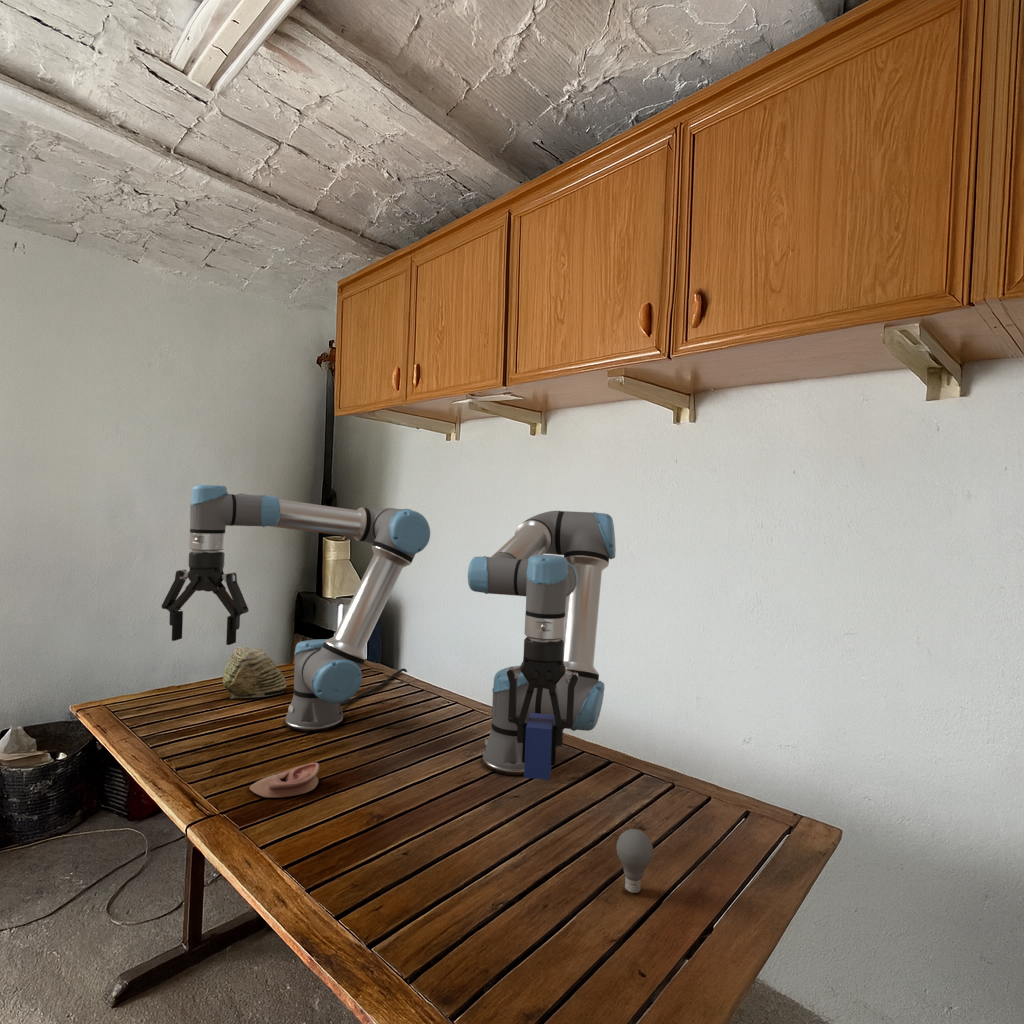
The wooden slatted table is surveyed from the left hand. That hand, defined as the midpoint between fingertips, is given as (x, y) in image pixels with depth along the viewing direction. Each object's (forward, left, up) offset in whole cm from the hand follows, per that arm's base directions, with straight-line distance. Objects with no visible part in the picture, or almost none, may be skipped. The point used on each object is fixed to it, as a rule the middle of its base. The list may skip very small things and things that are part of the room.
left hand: (203, 641), depth 148 cm
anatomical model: (-6, +26, -28) cm, 39 cm away
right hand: (-26, +79, -13) cm, 84 cm away
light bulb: (-25, +100, -28) cm, 107 cm away
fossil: (-34, -37, -28) cm, 58 cm away
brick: (-26, +79, -14) cm, 84 cm away
